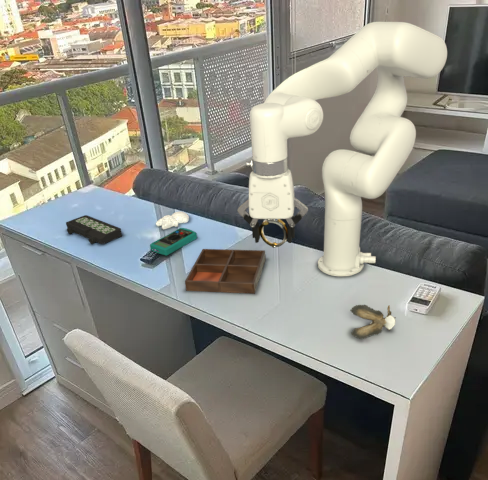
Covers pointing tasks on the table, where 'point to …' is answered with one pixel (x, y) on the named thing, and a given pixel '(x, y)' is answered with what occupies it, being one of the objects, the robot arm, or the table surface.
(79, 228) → the digital display
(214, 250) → the tray
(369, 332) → the eagle figurine
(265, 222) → the ring
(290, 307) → the table surface
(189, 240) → the digital multimeter
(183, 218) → the astronaut figurine
